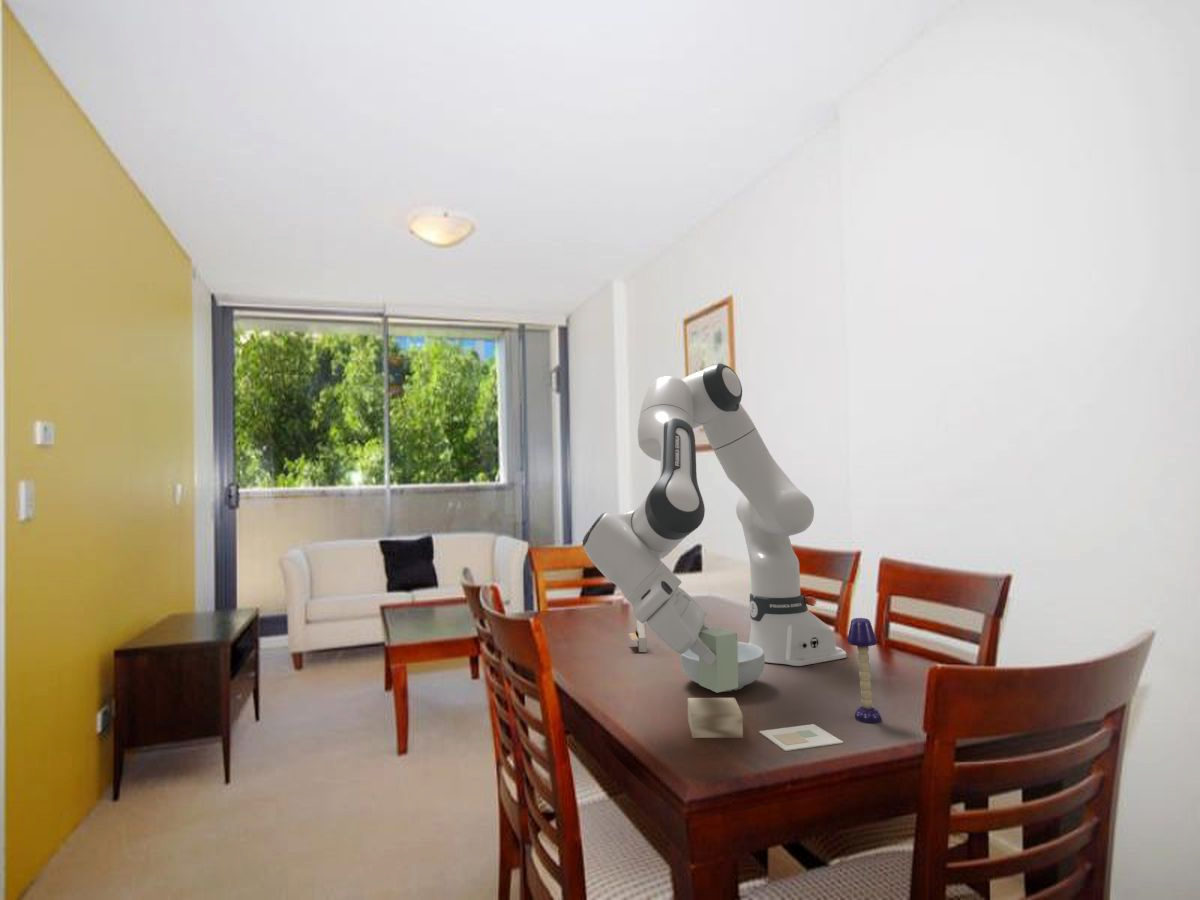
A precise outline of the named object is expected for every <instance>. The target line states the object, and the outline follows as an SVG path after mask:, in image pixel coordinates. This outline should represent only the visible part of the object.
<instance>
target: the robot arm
mask: <svg viewBox="0 0 1200 900" xmlns="http://www.w3.org/2000/svg"><path fill="white" fill-rule="evenodd" d="M742 397H743V386H742V383H741V380H740V377H739V376H738V375H737V373H736V371H735V370H734V369H732V368H731V367H730V366H729V365H726V364H724V363H721V362H720V363H715V364H714V363H713V364H711V365H708V366H705V367H704V369H701V370H699V371H697V372H693V373H691V374H689V375H687V376H685V377H683V378H679V377H677V376H671V375H665V376H661V377H657V378H656V379H654V380H653V382H652V383H650V385H649V387H648V389H647V390H646V393H645V395H644V399H643V402H642V404H641V409H640V414H639V418H638V426H637V439H638V447H639V448H640V450H641V451H642V452H643V453H644V454H645V455H646V456H648V458H649V457H650V458H651V459H653V460H656V461H659V462H660V474H659V478H658V480H657V481H656V483H655V484H654V485H653V486H652V488H651V489H650V491H649V492H648V494H647V496H646V497H645V498H644V499H643V501H642V502H641V503H640V505H639V506H638V507H637V508H636V509H633V510H631V511H627V512H621V513H611V512H608V511H605V512H604V513H602V514H600V516H598V518H596V520H595V521H594V522H593V524H592V525H591V526H590V528H589V530H588V531H587V532H586V534H584V536H583V540H582V548H583V550H584V552H585V554H586V555H587V557H588V559H589V560H590V561H591V562H592V564H593V565H594V566H595V568H597V570H598V571H599V572H600V573H601V574H602V575H603V576H604V577H605V578H606V579H607V581H609V582H611V583H613V584H614V586H616V587H618V589H619V590H620V592H621V593H622V595H623V597H624V598H625V599H626V600H627V602H628V603H629V604H630V605H631V607H632V610H633V615H634V617H635V619H637V621H638V620H639V621H640V622H641V623H645V622H646V625H647V626H648V628H650V630H651V631H652V632H653V633H654V634H655V635H656V636H657V637H658V638H659V639H660V640H662V642H664V643H665V644H666V645H667V646H668V647H669V648H670V649H672V651H674V652H676V653H677V654H679V655H680V654H683V653H684V652H685V651H687V650H688V649H690V650H691V651H692V652H693V653H695V654H696V655H698V656H699V657H701V658H702V659H703V660H704V661H705V662H706V663H707V664H709V665H711V664H712V663H713V662H714V661H715V660H716V657H717V655H716V654H715V653H714V652H713V650H712V649H711V648H708V647H707V646H706V645H705V644H704V643H703V642H702V640H701V639H700V638H699V632H700V631H701V630H707V629H710V627H709V626H708V625H707V624H706V623H705V621H706V618H707V613H706V611H705V610H704V608H703V607H702V605H700V604H699V603H698V602H697V601H696V600H695V599H693V597H692V596H690V594H688V592H686V591H685V590H684V589H683V588H681V587H679V586H680V585H681V584H682V580H681V579H680V578H678V576H677V575H676V574H675V573H674V572H673V571H672V570H671V569H670V568H669V567H668V566H667V565H666V564H665V563H664V562H663V561H662V560H661V559H664V558H665V557H667V556H668V555H669V554H670V553H671V552H672V551H673V550H674V549H675V548H677V546H679V545H680V543H682V541H683V540H685V539H686V537H687V536H689V535H690V534H691V533H693V532H694V531H695V530H696V529H698V528H699V527H700V526H701V525H702V523H703V521H704V518H705V511H706V509H705V503H704V499H703V495H702V493H701V491H700V488H699V483H698V477H697V451H696V450H697V449H696V438H695V437H696V436H695V433H694V429H696V428H699V427H700V426H701V427H702V428H703V431H704V433H705V435H706V438H707V440H708V443H709V444H710V447H711V449H712V451H713V452H714V454H715V455H716V458H717V460H718V462H719V464H720V465H721V467H722V469H723V471H724V473H725V475H726V477H727V478H728V479H729V481H730V482H732V483H733V484H734V486H736V487H737V488H738V490H739V491H740V492H741V494H742V495H741V496H740V497H739V498H738V500H737V503H736V507H735V510H736V516H737V518H738V520H739V522H740V524H741V527H742V531H743V535H744V539H745V543H746V548H747V552H748V557H749V568H750V590H751V591H750V594H749V615H750V616H749V617H750V624H751V625H750V633H749V640H748V643H749V644H753V645H756V646H759V647H760V648H762V649H763V651H764V658H765V661H764V663H770V664H781V665H788V666H794V667H802V666H807V665H812V664H818V663H824V662H830V661H836V660H840V659H845V658H847V652H846V651H845V650H844V649H843V648H841V647H839V646H836V640H835V636H834V632H833V630H832V628H831V627H830V626H829V625H828V624H826V623H825V622H824V621H822V620H821V619H820V618H819V617H817V615H815V614H813V613H812V612H810V611H809V608H808V606H810V607H815V606H816V605H817V599H816V597H814V596H813V597H812V596H805V595H804V594H801V579H800V578H801V577H800V576H801V575H800V561H799V558H798V556H797V554H796V553H795V551H794V548H793V545H792V542H791V539H790V537H791V536H794V535H798V534H801V533H803V532H805V531H806V530H808V528H809V527H810V526H811V525H812V523H813V520H814V517H815V508H814V505H813V502H812V501H811V499H810V498H809V497H808V495H806V494H805V493H804V492H802V491H801V490H800V489H799V488H798V487H797V486H796V485H795V484H794V483H793V482H792V481H791V480H792V479H790V478H789V476H788V475H787V474H786V473H785V472H784V471H783V469H782V468H781V467H780V466H779V464H778V463H777V462H776V461H775V459H774V458H773V456H772V455H771V453H770V451H769V449H768V448H767V446H766V444H765V442H764V441H763V438H762V437H761V435H760V433H759V431H758V429H757V428H756V425H755V423H754V422H753V420H752V419H751V417H750V415H749V414H748V412H747V411H746V409H745V408H744V407H743V405H742V404H741V401H742ZM807 605H808V606H807Z"/></svg>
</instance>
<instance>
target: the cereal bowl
mask: <svg viewBox="0 0 1200 900" xmlns="http://www.w3.org/2000/svg"><path fill="white" fill-rule="evenodd" d="M737 647H738V688H735V689H731V690H727V691H726V692H733V691H732V690H735V691H739V690H741V689H743V688H744V686H748V685H751V684H752V683H753V682H755V681H756V680H757V679H759V678H760V676H761V675H762V674H763V672H764V668H765V662H764V661H765V658H764V651H763V649H762V648H760V647H759V646H756V645H753V644H749V642H744V641H737ZM679 661H680V664H681V668H682V671H683V673H684V674H685V676H687V678H689V680H691V681H692V682H694V683H697V684H699V656H698V655H696V654H695V653H693V652H692V651H691V650H690V649H688V650H687V651H685V652H684V653H683V654H679ZM738 689H739V690H738Z"/></svg>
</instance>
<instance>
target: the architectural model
mask: <svg viewBox="0 0 1200 900" xmlns="http://www.w3.org/2000/svg"><path fill="white" fill-rule="evenodd" d="M636 627H637V628H635V632H629V633H628V635H629V638H630V639H631V641H632V642H635V641H636V642H637V649H638V653H639V652H646V653H648V651H647V650H648V648H647V647H648V645H647V644H648V643H647V638H648V637H647V621H646V622H645V623H641V622H640V621H639V620H638V619H637V620H636Z"/></svg>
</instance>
